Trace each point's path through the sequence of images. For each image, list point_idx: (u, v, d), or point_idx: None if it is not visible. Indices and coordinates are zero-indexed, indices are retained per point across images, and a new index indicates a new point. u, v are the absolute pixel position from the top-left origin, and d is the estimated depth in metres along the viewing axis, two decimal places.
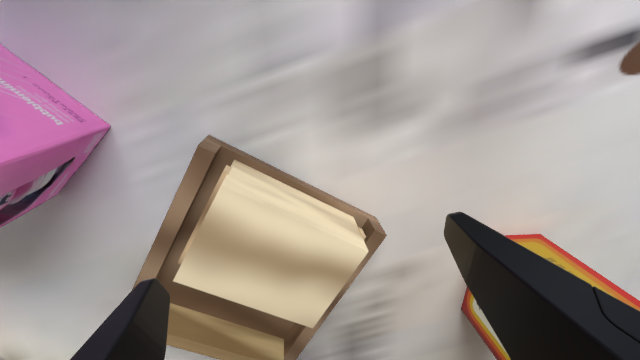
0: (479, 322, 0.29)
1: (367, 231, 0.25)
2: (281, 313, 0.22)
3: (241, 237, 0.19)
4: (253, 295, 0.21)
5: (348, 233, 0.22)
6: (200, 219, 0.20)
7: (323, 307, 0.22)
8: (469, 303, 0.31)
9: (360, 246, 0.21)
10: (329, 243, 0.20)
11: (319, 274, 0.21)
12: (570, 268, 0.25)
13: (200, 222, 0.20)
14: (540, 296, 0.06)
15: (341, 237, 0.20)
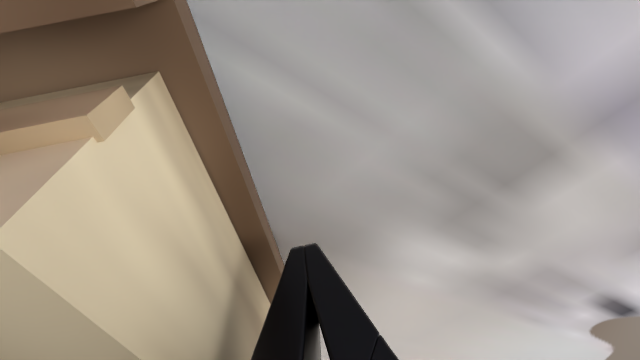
0: None
1: None
2: None
3: None
4: None
5: None
6: None
7: None
8: None
9: None
10: None
11: None
12: None
13: None
14: (326, 345, 0.06)
15: None
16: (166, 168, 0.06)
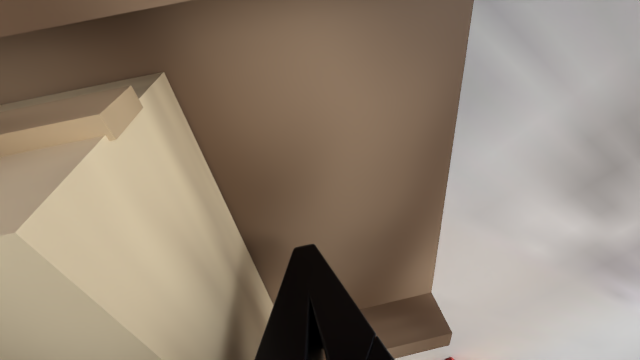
0: None
1: (429, 320, 0.13)
2: None
3: None
4: None
5: None
6: None
7: None
8: None
9: None
10: None
11: None
12: None
13: None
14: (323, 345, 0.06)
15: None
16: (173, 167, 0.06)
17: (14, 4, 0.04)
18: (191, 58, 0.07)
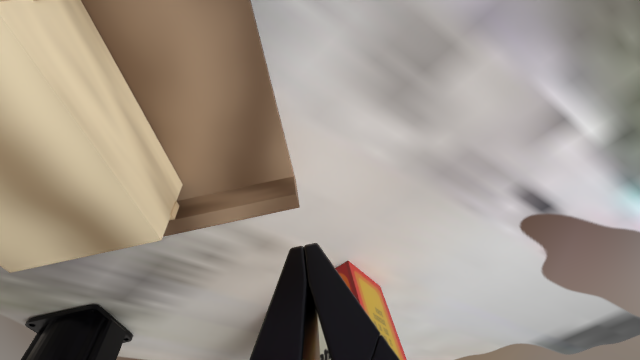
0: None
1: (284, 189, 0.20)
2: None
3: None
4: None
5: (157, 203, 0.16)
6: None
7: (47, 260, 0.15)
8: None
9: (157, 229, 0.15)
10: (118, 203, 0.14)
11: (73, 224, 0.14)
12: (388, 328, 0.27)
13: None
14: (327, 345, 0.06)
15: (141, 206, 0.14)
16: (75, 34, 0.12)
17: None
18: None
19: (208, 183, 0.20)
